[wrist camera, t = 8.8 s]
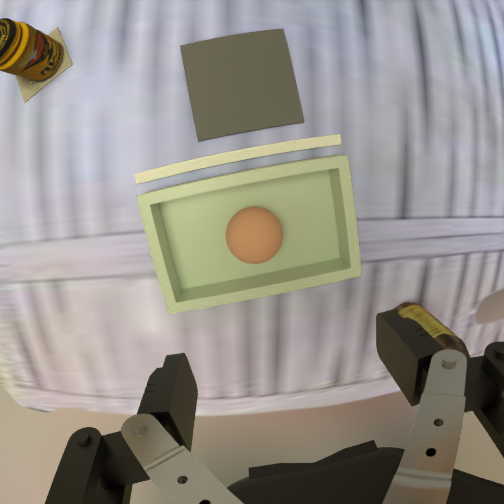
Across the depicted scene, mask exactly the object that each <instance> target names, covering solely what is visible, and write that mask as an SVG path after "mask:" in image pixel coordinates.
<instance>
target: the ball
mask: <svg viewBox="0 0 504 504" xmlns="http://www.w3.org/2000/svg"><path fill="white" fill-rule="evenodd" d="M282 240H283V230H282V227H281V224H280V222H279V220H278V219H277V217H276V216H275V215H274V214H273V213H271V212H270V211H268V210H267V209H264V208H261V207H247V208H244V209H242V210H240V211H238V212H237V213H236V214H235V215H234V216H233V217H232V218H231V219H230V221H229V223H228V225H227V228H226V243H227V246H228V248H229V250H230V252H231V253H232V254H233V255H234V256H235V257H236V258H237V259H239V260H240V261H242V262H245V263H249V264H260V263H263V262H266V261H268V260H270V259H271V258H272V257H274V256H275V255H276V253H277V252H278V251H279V249H280V247H281V244H282Z"/></svg>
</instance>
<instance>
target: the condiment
mask: <svg viewBox="0 0 504 504" xmlns="http://www.w3.org/2000/svg"><path fill="white" fill-rule="evenodd" d="M71 65H72V62H71V60H70V57H69V55H68V52H67V50H66V47H65V45H64V42H63V40H62V37H61V35H60V32H59V30H58V27H57V28H56V29H55V30H53V31H52V32H51V33H50V34H49V35H45V34H44V33H42V32H41V31H39V30H36V29H35V28H33V27H32V26H30V25H28V24H26V23H23V22H16V21H12V20H11V19H8V18H2V19H0V71H3V72H6V73H10V74H14V75H16V78H17V80H18V84H19V86H20V90H21V93H22V95H23V99H24V102H26V101H27V100H28V99H30V98H31V97H32V96H33V95H34V94H35V93H37V92H38V91H39V90H40V89H41V88H43V87H44V86H45V85H47V84H48V83H49V82H50V81H52V80H53V79H54V78H55V77H57V76H58V75H59V74H61V73H62V72H63V71H64V70H66V69H67V68H69V67H70V66H71ZM33 81H34V82H33ZM31 82H32V83H31Z"/></svg>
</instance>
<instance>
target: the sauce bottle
mask: <svg viewBox="0 0 504 504" xmlns="http://www.w3.org/2000/svg"><path fill="white" fill-rule="evenodd" d="M395 310H396V311H397V312H398V313H399V314H400V315H401V316H402V317H403V318H406V317H408V318H411V319H413V320H415V321H417V322H418V323H419V324H420V325H421V326H422V327H423V329H425V330H426V331H427V332H428V334H430V335H431V336H432V337H433V338H434V339H435V340H436V341H437V342H438V343H439V344H440V345H441V346H442V347H443V348H444V349H445V350H446V349H452V350H457V351H459V352H461V353H463V354H464V355H465V357H466V358H470V355H469V353H468V350H467V348H466V346H465V344H464V342H463V341H462V340H461V339H460V338H459V337H458V336H456V335H455V334H454V333H453V332H452V331H451V330H449V329H448V328H447V327H446V326H445V325H443V324H442V323H441V322H440V321H439V320H437V319H436V318H435V317H434V316H433V315H431V314H430V313H429V312H428V311H427V310H425V309H424V308H423V307H421V306H419V305H417V304H414V303H405V304H403V305H401V306H399V307H398V308H397V309H395ZM466 413H468V414H474V412H473V411H470V412H466Z"/></svg>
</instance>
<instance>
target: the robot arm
mask: <svg viewBox="0 0 504 504" xmlns="http://www.w3.org/2000/svg"><path fill="white" fill-rule="evenodd" d="M376 346H377V352H378V355H379V357H380V359H381V360H382V362H383V363H384V365H385V366H386V368H387V369H388V371H389V372H390V374H391V375H392V377H393V378H394V380H395V382H396V383H397V385H398V386H399V388H400V389H401V391H402V392H403V394H404V395H405V397H406V398H407V400H408V402H409V403H410V405H411V406H414V405H417V404H419V407H418V410H417V414H416V417H415V420H414V424H413V427H412V430H411V433H410V436H409V439H408V442H407V445H406V448H405V449H400V448H393V447H381V448H377V446H376V444H375V441H374V440H372V441H369V442H366V443H362V444H359V445H356V446H352V447H349V448H345V449H343V450H341V451H339V452H337V453H335V454H332V455H330V456H328V457H326V458H324V459H322V460H319V461H317V462H314V463H279V464H278V463H277V464H272V465H266V466H259V467H252V468H249V477H246V478H243V479H241V480H239V481H237V482H235V483H233V484H231V485H230V486H228V487H227V488H226V487H225V486H223V485H222V484H221V483H220V482H219V481H218V480H217V479H216V478H215V477H214V476H213V475H212V474H211V473H210V472H209V471H208V470H207V469H206V468H205V467H204V466H203V465H202V464H201V463H200V462H199V461H198V460H197V459H196V458H195V457H194V456H193V455H192V454H191V445H192V437H193V427H194V420H195V412H196V405H197V397H198V390H197V384H196V381H195V378H194V376H193V373H192V370H191V367H190V365H189V362H188V359H187V356H186V355H185V353H180V354H173V355H167V356H166V358H165V361H164V364H163V368H157V369H156V370H155V371H154V372H153V373H152V374H151V375H150V377H149V380H148V383H147V386H146V388H145V393H144V394H143V397H142V400H141V403H140V406H139V409H138V412H137V415H134V416H132V417H130V418H129V419H127V420H126V421H125V422H124V424H123V425H122V427H121V431H119V432H115V433H111V434H107V435H103V436H102V435H101V434H100V432H99V431H98V430H97V429H96V428H92V427H86V428H82V429H80V430H77V431H76V432H75V433H73V434H72V436H71V437H70V439H69V441H68V443H67V446H66V448H65V451H64V453H63V456H62V458H61V461H60V464H59V466H58V469H57V472H56V474H55V477H54V479H53V482H52V485H51V488H50V490H49V494H48V496H47V499H46V502H45V504H129V503H130V497H131V491H132V485H133V484H134V483H138V482H142V481H146V480H149V479H151V480H152V481H153V483H154V484H155V485H156V487H157V488H158V490H159V491H160V492H161V493H162V495H163V496H164V497H165V499H166V500H167V501H168V502H169V504H504V485H502V484H499V483H496V482H493V481H490V480H486V479H483V478H480V477H477V476H474V475H471V474H468V473H465V472H463V471H459V470H457V469H454V464H455V460H456V455H457V450H458V445H459V440H460V434H461V429H462V422H463V415H464V412H470V411H473V412H474V414H475V415H476V417H477V418H478V419H479V421H480V422H481V424H482V425H483V427H484V428H485V430H486V431H487V432H488V434H489V436H490V437H491V439H492V440H493V442H494V443H495V445H496V447H497V448H498V450H499V451H500V453H501V454H502V456H503V457H504V342H493V343H491V344H489V345H488V346H487V347H486V348H485V352H484V356H478V357H472V358H466V357H465V355H464V354H463V353H461V352H459V351H457V350H452V349H446V350H445V349H444V348H443V347H442V346H441V345H440V344H439V343H438V342H437V341H436V340H435V339H434V338H433V337H432V336H431V335H430V334H428V332H427V331H426V330H425V329H423V327H422V326H421V325H420V324H419V323H418V322H417V321H415V320H413V319H411V318H408V317H406V318H403V317H402V316H401V315H400V314H399V313H398V312H397V311H396V310H394V309H393V310H389V311H385V312H382V313H378V314H377V316H376Z"/></svg>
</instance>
